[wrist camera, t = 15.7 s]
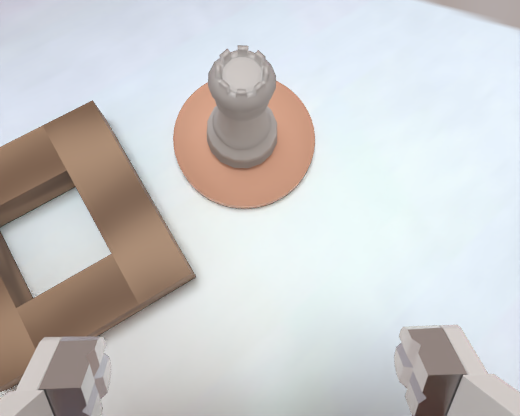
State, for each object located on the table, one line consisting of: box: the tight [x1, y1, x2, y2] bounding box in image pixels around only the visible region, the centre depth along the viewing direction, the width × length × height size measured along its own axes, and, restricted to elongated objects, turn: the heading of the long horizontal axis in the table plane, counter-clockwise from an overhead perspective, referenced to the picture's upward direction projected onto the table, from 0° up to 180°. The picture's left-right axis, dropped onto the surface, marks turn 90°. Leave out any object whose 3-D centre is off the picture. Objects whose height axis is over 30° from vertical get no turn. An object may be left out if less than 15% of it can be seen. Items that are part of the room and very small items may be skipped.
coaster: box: [173, 81, 315, 209], centre depth 28 cm, size 9×9×1 cm
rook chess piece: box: [207, 45, 277, 168], centre depth 23 cm, size 4×4×8 cm
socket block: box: [0, 100, 196, 392], centre depth 25 cm, size 12×12×2 cm
